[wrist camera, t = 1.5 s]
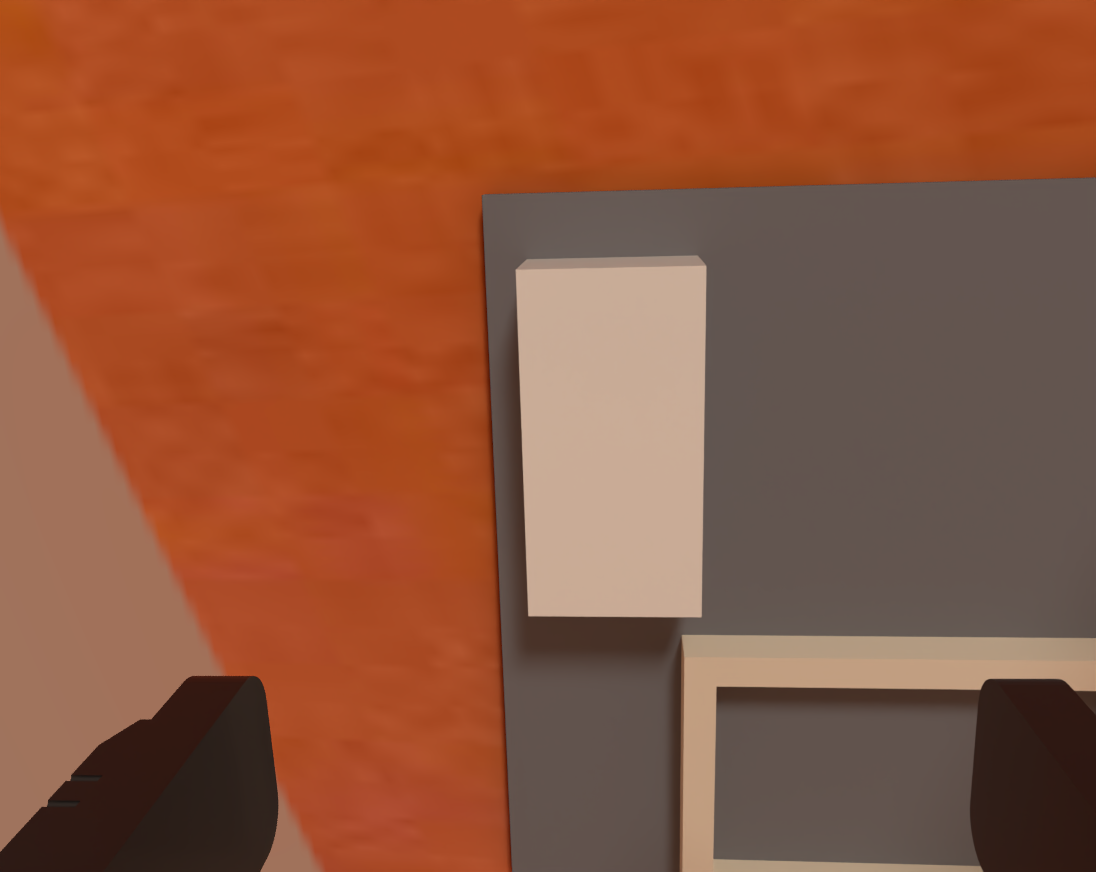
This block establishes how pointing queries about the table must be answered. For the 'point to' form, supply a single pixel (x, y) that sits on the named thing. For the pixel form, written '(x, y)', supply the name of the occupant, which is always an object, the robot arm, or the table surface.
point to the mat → (818, 526)
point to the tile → (613, 434)
